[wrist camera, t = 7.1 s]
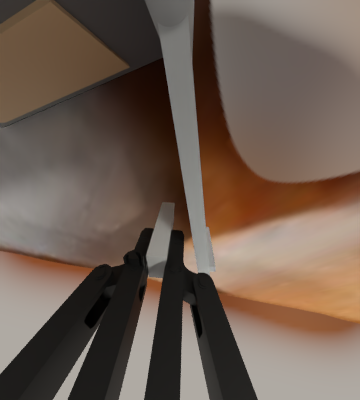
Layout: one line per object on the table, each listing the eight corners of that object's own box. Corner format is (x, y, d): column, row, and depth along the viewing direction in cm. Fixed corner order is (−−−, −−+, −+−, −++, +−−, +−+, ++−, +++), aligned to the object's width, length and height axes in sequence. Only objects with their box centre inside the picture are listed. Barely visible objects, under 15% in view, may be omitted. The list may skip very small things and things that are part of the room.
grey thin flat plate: (170, 57, 9) (132, -61, 3) (195, 51, 9) (207, -92, 3) (195, 230, 18) (197, 290, 12) (208, 229, 18) (217, 290, 12)
